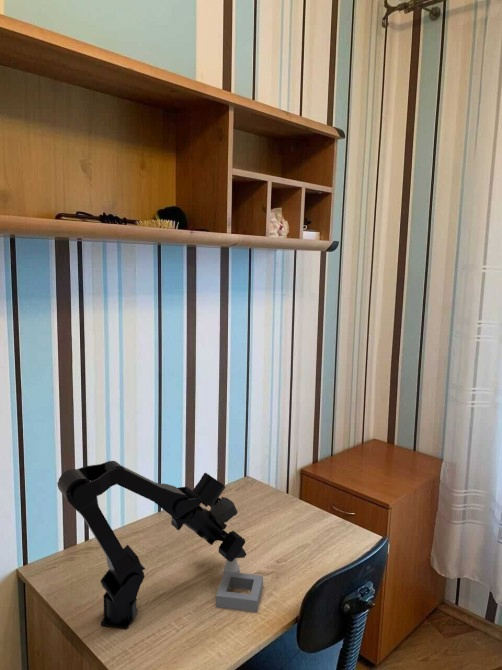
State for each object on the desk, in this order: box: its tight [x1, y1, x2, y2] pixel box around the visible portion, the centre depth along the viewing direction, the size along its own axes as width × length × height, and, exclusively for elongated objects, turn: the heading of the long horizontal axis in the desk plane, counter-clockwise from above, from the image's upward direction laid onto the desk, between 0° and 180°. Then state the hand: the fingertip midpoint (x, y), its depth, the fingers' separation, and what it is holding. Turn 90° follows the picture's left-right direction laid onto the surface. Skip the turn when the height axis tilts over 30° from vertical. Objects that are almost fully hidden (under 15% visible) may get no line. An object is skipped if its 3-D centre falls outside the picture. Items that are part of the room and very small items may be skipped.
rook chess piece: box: [222, 558, 241, 574], centre depth 137 cm, size 4×4×8 cm
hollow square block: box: [215, 571, 264, 613], centre depth 128 cm, size 10×10×3 cm
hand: (235, 547), depth 137 cm, fingers open, 9 cm apart
